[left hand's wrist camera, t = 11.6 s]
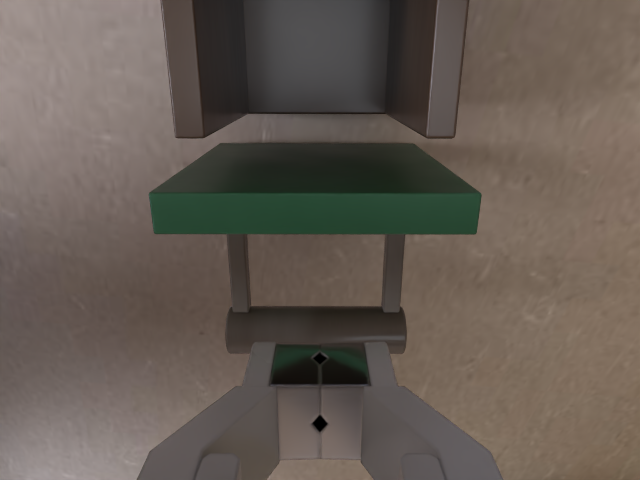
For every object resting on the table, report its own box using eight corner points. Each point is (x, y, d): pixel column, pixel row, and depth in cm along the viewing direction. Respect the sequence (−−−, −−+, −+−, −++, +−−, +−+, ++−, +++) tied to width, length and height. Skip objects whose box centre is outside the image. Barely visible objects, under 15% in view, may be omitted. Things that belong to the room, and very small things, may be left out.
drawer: (404, 276, 23) (456, 398, 14) (229, 276, 23) (174, 398, 14) (442, -245, 16) (587, -621, 7) (190, -246, 16) (39, -624, 7)
